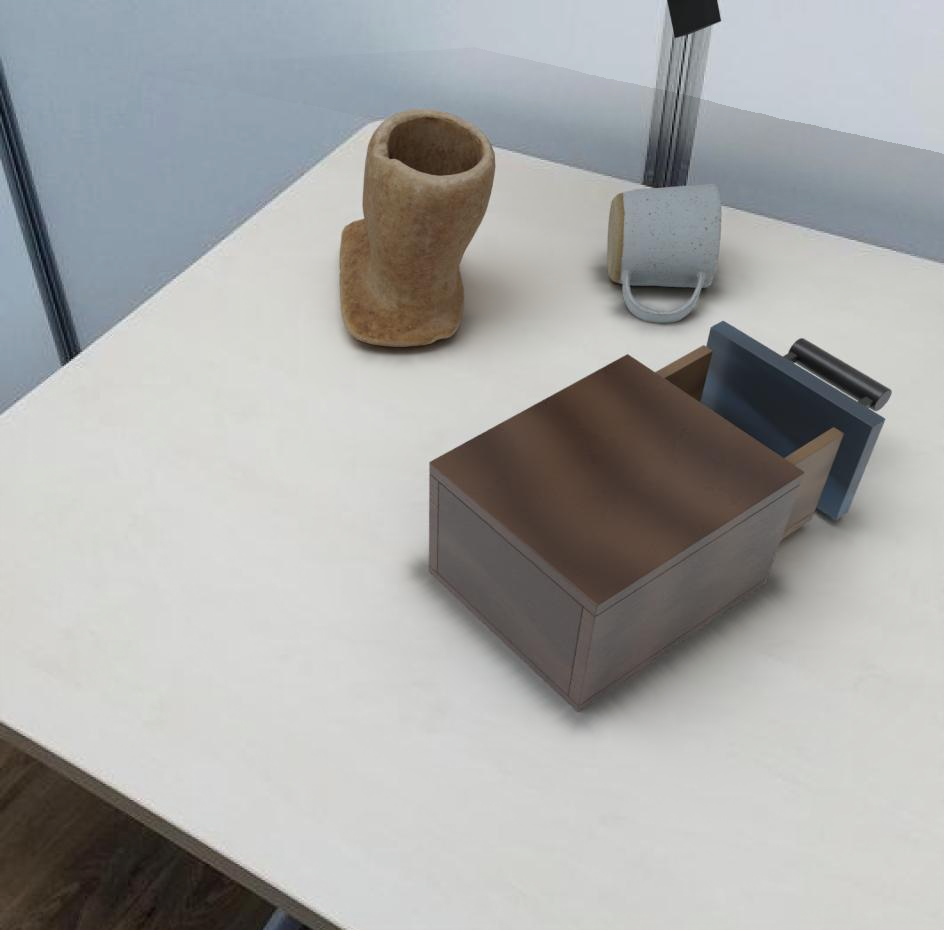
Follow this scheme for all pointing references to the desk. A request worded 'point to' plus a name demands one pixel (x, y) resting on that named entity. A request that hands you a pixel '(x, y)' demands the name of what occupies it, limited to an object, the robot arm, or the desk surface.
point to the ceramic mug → (664, 243)
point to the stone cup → (414, 228)
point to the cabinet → (606, 525)
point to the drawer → (791, 410)
